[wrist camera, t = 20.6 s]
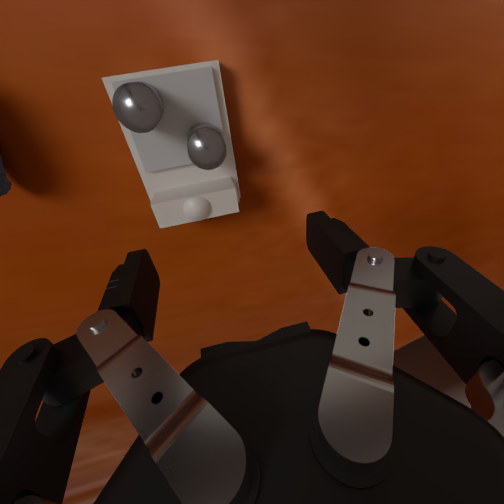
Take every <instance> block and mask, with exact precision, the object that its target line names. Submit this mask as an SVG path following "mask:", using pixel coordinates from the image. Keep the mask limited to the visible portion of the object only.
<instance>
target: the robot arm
mask: <svg viewBox="0 0 504 504" xmlns="http://www.w3.org/2000/svg"><path fill="white" fill-rule="evenodd" d="M306 241H307V246H308V249H309V251H310V253H311V254H312V256H313V257H314V258H315V260H316V261H317V263H318V264H319V266H320V267H321V269H322V270H323V272H324V273H325V274H326V276H327V277H328V279H329V280H330V282H331V283H332V285H333V286H334V288H335V289H336V290H337V292H338V293H339V294H343V293H347V294H346V298H345V303H344V307H343V311H342V315H341V319H340V324H339V328H338V332H337V334H335V333H332V332H329V331H324V330H317V329H310V327H309V325H308V323H307V322H303V323H299V324H295V325H291V326H287V327H283V328H281V329H279V330H277V331H275V332H273V333H271V334H269V335H267V336H265V337H263V338H262V339H260V340H257V341H243V342H225V343H221V344H217V345H213V346H210V347H206V348H202V349H201V358H200V359H198V360H196V361H195V362H193V363H192V364H190V365H189V366H188V367H187V368H185V369H184V370H183V371H182V372H181V373H180V375H179V374H178V373H177V372H176V371H175V370H174V369H173V368H172V367H171V366H170V365H169V364H168V363H167V362H166V361H165V360H164V359H163V357H162V356H161V355H160V354H159V353H158V352H157V351H156V350H155V349H154V348H153V347H152V346H151V345H150V344H149V343H148V342H149V341H152V340H153V333H154V325H155V318H156V311H157V303H158V296H159V288H160V280H159V276H158V273H157V271H156V268H155V266H154V264H153V262H152V260H151V258H150V256H149V253H148V252H147V250H146V249H142V250H137V251H132V252H129V253H128V254H127V257H126V260H125V263H124V264H122V265H119V266H118V267H117V268H116V269H115V270H114V271H113V273H112V275H111V277H110V280H109V283H108V285H107V289H106V290H105V293H104V295H103V298H102V301H101V303H100V306H99V308H98V311H97V312H95V313H93V314H91V315H90V316H88V317H87V318H86V319H85V320H84V321H83V322H82V323H81V324H80V325H79V327H78V329H77V332H76V334H75V335H73V336H71V337H69V338H66V339H64V340H62V341H60V342H58V343H56V344H54V345H53V344H52V343H51V342H50V341H49V340H48V339H46V338H39V339H35V340H32V341H30V342H28V343H26V344H24V345H22V346H21V347H19V348H18V349H17V350H16V351H14V352H13V353H12V354H11V355H10V356H9V357H8V359H7V360H6V361H5V363H4V365H3V366H2V368H1V370H0V504H62V502H63V498H64V494H65V490H66V486H67V482H68V478H69V474H70V470H71V466H72V462H73V458H74V454H75V450H76V446H77V442H78V438H79V434H80V430H81V426H82V422H83V418H84V414H85V410H86V406H87V402H88V398H89V394H90V390H91V389H92V388H94V387H96V386H98V385H99V384H101V383H103V382H105V384H106V385H107V387H108V388H109V390H110V391H111V393H112V394H113V396H114V397H115V399H116V400H117V402H118V404H119V405H120V407H121V408H122V410H123V411H124V413H125V414H126V416H127V417H128V419H129V420H130V422H131V423H132V425H133V426H134V428H135V429H136V431H137V432H138V434H139V435H138V437H137V438H136V440H135V441H134V443H133V444H132V446H131V447H130V449H129V450H128V452H127V454H126V455H125V457H124V458H123V460H122V461H121V463H120V464H119V466H118V467H117V469H116V470H115V472H114V473H113V475H112V476H111V478H110V479H109V481H108V482H107V484H106V485H105V487H104V488H103V490H102V492H101V493H100V495H99V496H98V498H97V499H96V501H95V502H94V504H504V291H503V290H502V289H500V288H499V287H498V286H496V285H495V284H494V283H492V282H491V281H490V280H488V279H487V278H486V277H484V276H483V275H482V274H480V273H479V272H477V271H476V270H475V269H473V268H472V267H471V266H469V265H468V264H467V263H465V262H464V261H463V260H461V259H460V258H459V257H457V256H456V255H454V254H453V253H452V252H450V251H448V250H446V249H443V248H439V247H432V246H427V247H421V248H419V249H418V250H417V251H416V253H415V256H414V258H394V257H393V255H392V254H391V253H389V252H388V251H386V250H384V249H381V248H375V247H369V246H368V245H367V244H366V243H365V242H364V241H363V240H362V239H361V238H360V237H359V236H358V235H357V234H356V233H354V232H353V231H352V230H351V229H349V227H348V226H347V225H346V224H345V223H344V222H342V221H340V220H338V219H336V218H332V219H331V218H330V217H329V216H328V215H327V214H326V213H325V212H324V211H319V212H314V213H309V214H307V220H306ZM442 296H443V297H444V298H445V299H446V300H447V301H448V302H449V303H450V304H451V305H452V306H453V307H454V308H455V310H456V313H457V315H456V314H455V313H454V312H453V311H452V310H451V309H450V308H449V307H448V306H447V305H446V304H445V303H444V302H443V301H442V300H441V299H442ZM395 308H403V309H404V310H405V311H406V313H407V314H408V315H409V316H410V317H411V319H412V320H413V321H414V322H415V323H416V325H417V326H418V327H419V328H420V330H421V331H422V332H423V333H424V334H425V336H426V337H427V338H428V339H429V340H430V342H431V343H432V344H433V345H434V346H435V348H436V349H437V350H438V351H439V352H440V354H441V355H442V356H443V357H444V359H445V360H446V361H447V362H448V363H449V365H450V366H451V367H452V368H453V369H454V371H455V372H456V373H457V374H458V375H459V377H460V378H461V379H462V380H463V382H464V383H465V384H466V386H465V394H466V397H467V399H468V401H469V403H470V404H471V406H472V407H471V409H470V408H468V407H467V406H465V405H464V404H462V403H460V402H458V401H456V400H454V399H453V398H451V397H449V396H448V395H446V394H444V393H442V392H440V391H439V390H437V389H435V388H433V387H431V386H429V385H428V384H426V383H424V382H422V381H421V380H419V379H417V378H415V377H414V376H412V375H409V374H408V373H406V372H405V371H403V370H400V369H399V368H397V367H396V366H394V365H393V348H394V325H395ZM41 401H43V404H42V406H41V409H40V411H39V414H38V417H37V419H36V422H35V418H36V414H37V411H38V409H39V406H40V404H41Z"/></svg>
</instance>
